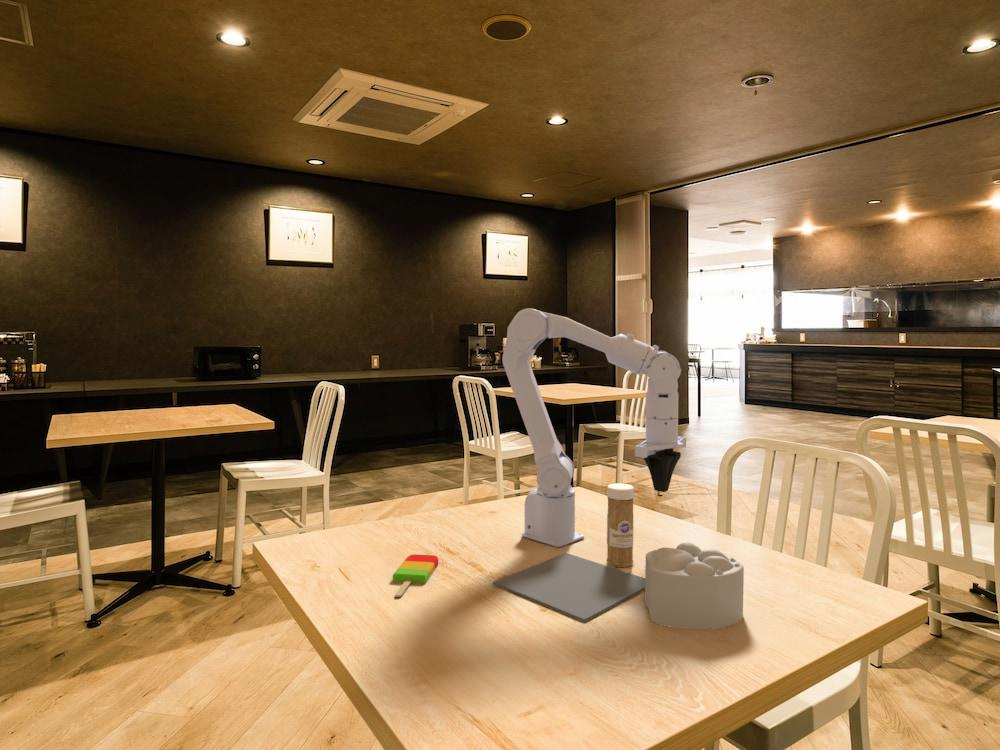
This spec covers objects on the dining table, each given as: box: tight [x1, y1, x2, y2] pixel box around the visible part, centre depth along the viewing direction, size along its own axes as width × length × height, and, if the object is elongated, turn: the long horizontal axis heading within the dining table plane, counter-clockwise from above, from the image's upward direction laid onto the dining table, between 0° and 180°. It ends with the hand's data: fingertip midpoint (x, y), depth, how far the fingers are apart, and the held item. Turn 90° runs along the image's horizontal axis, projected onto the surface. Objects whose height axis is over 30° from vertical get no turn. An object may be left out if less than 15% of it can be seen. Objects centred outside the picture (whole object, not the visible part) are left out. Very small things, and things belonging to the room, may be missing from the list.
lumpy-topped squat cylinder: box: [644, 542, 745, 630], centre depth 86 cm, size 10×13×9 cm
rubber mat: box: [492, 552, 645, 623], centre depth 96 cm, size 18×18×1 cm
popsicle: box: [392, 553, 439, 598], centre depth 99 cm, size 6×15×2 cm, turn 171°
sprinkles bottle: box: [606, 482, 635, 568], centre depth 105 cm, size 5×5×13 cm
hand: (661, 490), depth 114 cm, fingers closed
